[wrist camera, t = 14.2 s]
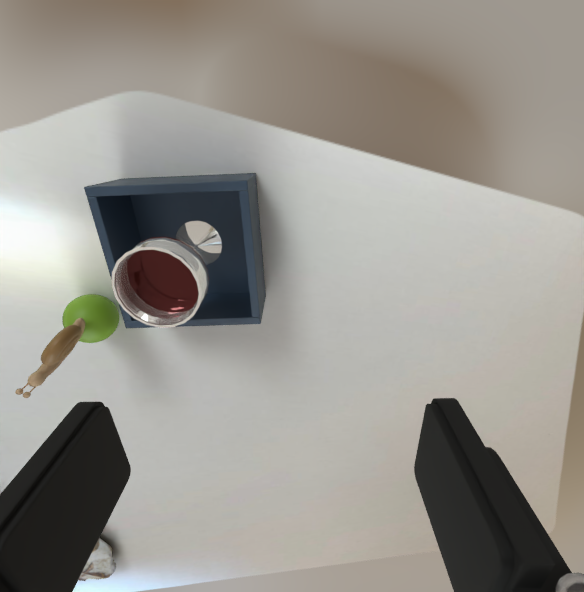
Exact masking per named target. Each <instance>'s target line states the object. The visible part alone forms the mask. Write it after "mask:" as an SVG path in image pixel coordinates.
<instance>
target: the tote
mask: <svg viewBox="0 0 584 592" xmlns="http://www.w3.org/2000/svg"><path fill="white" fill-rule="evenodd" d="M84 189H85V192H86V195H87V199H88V202H89V205H90V209H91V212H92V215H93V219H94V222H95V225H96V229H97V232H98V235H99V239H100V242H101V246H102V249H103V252H104V256H105V259H106V262H107V266H108V269H109V272H110V276H111V279H112V271H113V269H114V267H115V264H116V262H117V261H118V260H119V259H120V258H121V257H122V256H123V255H124V254H125V253H126V252H129V251H130V250H132V249H133V248H134V247H135V246H136V245H137V244H138V243H140V242H142V241H144V240H147V239H149V238H152V237H170V238H174V239H176V234H177V232H178V230H179V228H180V227H181V226H182V225H184V224H185V223H187V222H190V221H202V222H206V223H208V224H209V225H211V226H212V227H213V228H214V229H215V230H216V231H217V232H218V234H219V236H220V238H221V242H222V249H221V253H220V255H219V257H218V258H217V259H216V260H215V261H214V262H213V263H210V264H208V265H206V266H207V268H208V273H209V279H210V280H209V286H208V292H207V295H206V297H205V299H204V300H203V302H202V304H201V305H200V306H199V308H198V310H197V311H196V313H195V315H194V316H193V317H192V318H190V319H189V320H188V321H187V322H185V323H183V324H181V325H178V326H175V327H179V326H210V325H241V324H261V319H262V313H263V308H264V302H265V297H266V293H265V281H264V269H263V256H262V244H261V232H260V220H259V208H258V195H257V183H256V173H247V174H223V175H199V176H175V177H151V178H128V179H119V180H114V181H110V182H105V183H101V184H96V185H92V186H87V187H84ZM118 303H119V302H118ZM119 306H120V309H121V313H122V316H123V319H124V323H125V326H126V328H147V327H154V326H150V325H146V324H144V323H142V322H140V321H138V320H136V319H134V318H133V317H132V316H131V315H129V314H128V313H127V312H126V311H125V310H124V309H123V308H122V307H121V305H120V304H119Z"/></svg>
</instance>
